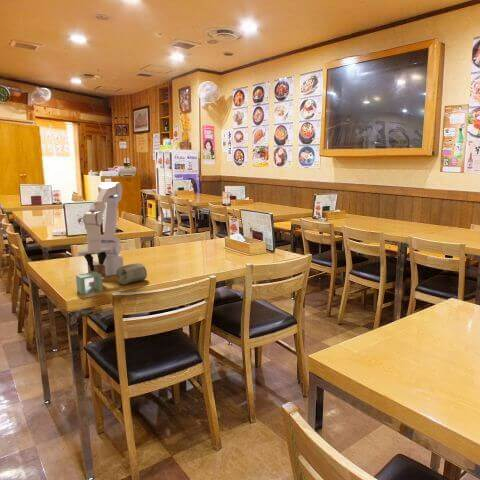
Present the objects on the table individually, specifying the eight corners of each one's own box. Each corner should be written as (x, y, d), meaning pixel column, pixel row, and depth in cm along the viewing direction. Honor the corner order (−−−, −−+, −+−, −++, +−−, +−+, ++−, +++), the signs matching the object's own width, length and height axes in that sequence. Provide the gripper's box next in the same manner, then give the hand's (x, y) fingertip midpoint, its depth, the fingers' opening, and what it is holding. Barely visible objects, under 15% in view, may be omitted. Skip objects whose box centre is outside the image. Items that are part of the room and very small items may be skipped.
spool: (122, 280, 170) (121, 258, 173) (112, 286, 176) (112, 265, 180) (151, 282, 179) (150, 261, 182) (141, 288, 185) (140, 267, 189)
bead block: (97, 287, 172) (96, 271, 171) (102, 290, 167) (101, 274, 166) (77, 291, 167) (75, 275, 166) (81, 294, 162) (80, 277, 161)
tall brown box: (95, 271, 185) (94, 260, 184) (105, 276, 175) (104, 265, 174) (88, 272, 183) (87, 261, 182) (98, 278, 173) (97, 266, 172)
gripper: (79, 242, 168) (82, 274, 171) (113, 239, 177) (115, 269, 180) (74, 240, 174) (77, 271, 176) (108, 237, 183) (110, 266, 185)
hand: (96, 270), depth 178 cm, fingers closed on tall brown box, 3 cm apart
